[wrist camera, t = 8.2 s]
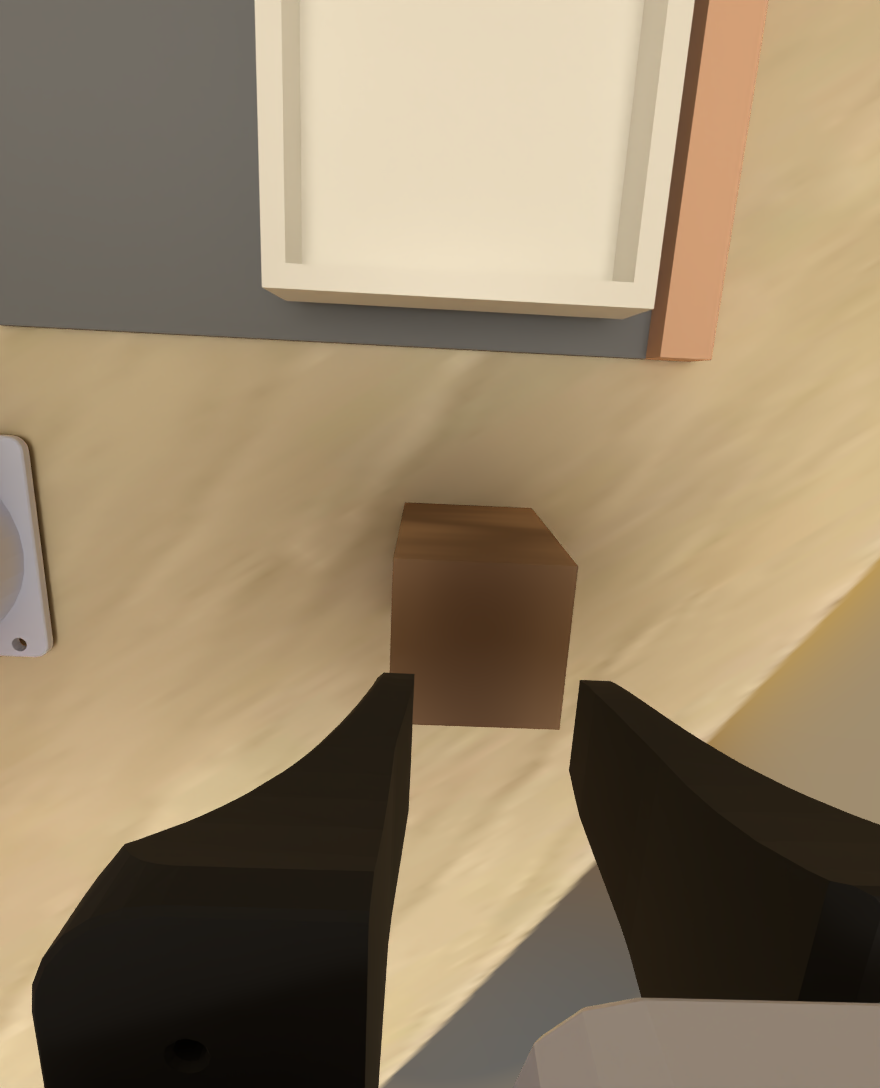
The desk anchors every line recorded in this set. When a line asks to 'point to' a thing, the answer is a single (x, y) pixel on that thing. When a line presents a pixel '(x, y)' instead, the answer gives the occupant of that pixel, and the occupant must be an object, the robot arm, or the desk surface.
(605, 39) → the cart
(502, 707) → the walnut block
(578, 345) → the thin flat board
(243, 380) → the desk surface
